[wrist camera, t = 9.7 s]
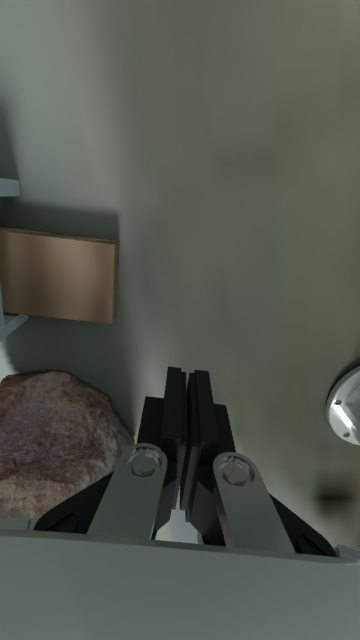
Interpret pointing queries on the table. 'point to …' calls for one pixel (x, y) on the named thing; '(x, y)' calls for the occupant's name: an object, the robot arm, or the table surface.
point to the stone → (54, 440)
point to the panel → (58, 275)
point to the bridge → (3, 322)
